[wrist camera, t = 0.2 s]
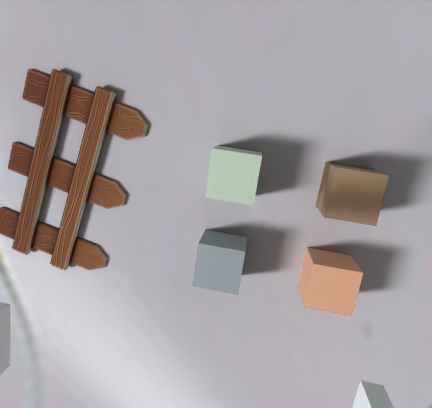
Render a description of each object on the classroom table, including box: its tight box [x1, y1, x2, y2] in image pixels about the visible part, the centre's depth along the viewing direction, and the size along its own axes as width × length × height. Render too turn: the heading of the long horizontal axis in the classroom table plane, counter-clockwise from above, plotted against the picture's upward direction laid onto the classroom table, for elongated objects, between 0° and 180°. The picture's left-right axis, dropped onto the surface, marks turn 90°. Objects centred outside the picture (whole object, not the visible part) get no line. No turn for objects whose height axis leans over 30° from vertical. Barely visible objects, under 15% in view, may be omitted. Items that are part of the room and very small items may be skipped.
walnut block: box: [316, 162, 390, 226], centre depth 35 cm, size 5×5×5 cm
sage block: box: [205, 146, 262, 206], centre depth 36 cm, size 5×5×5 cm
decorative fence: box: [0, 69, 148, 270], centre depth 41 cm, size 23×2×15 cm
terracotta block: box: [298, 247, 363, 317], centre depth 37 cm, size 5×5×5 cm
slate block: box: [193, 230, 247, 295], centre depth 38 cm, size 5×5×5 cm
